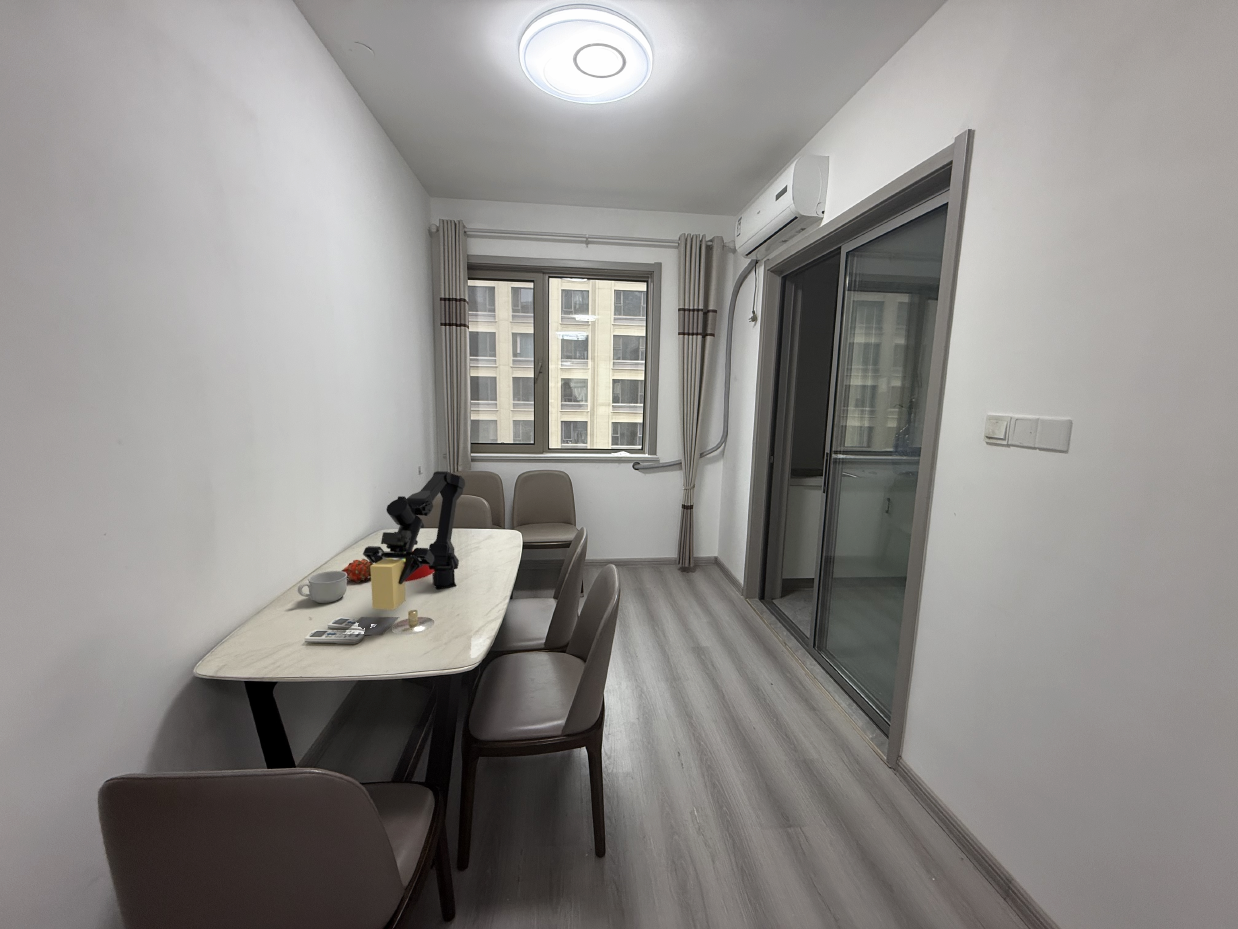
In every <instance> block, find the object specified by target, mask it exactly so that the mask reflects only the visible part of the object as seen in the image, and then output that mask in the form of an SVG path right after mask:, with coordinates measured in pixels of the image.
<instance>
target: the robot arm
mask: <svg viewBox="0 0 1238 929" xmlns="http://www.w3.org/2000/svg"><path fill="white" fill-rule="evenodd" d="M465 486H466V481H465V478H463V476H462V475H458V474H455V473H451V472H450V471H445V470H444V471H443V470H437V471H434V472H433V474H432V476H431V478H430V479H429V480H428V481H427V482H426V483H425V485H424V486H423V487H422V488H421V489H420V490H419V491H418V492H415V493H412V494H411V495H409V496H408V497H407V498H406V496H402V495H400V496H398V497H397V499H394V500H393V501H391V502H390V503H389V504H387V506H386V513H387V515H388V516H390V518H391V519H392V521H393V522H394V523H395V524H396V525H397V526H399V527H398V529H397V531H393V532H386V531H385V532H382V537H381V541H380V544H381V545H386V549H388V550H387V551H386V550H384V549H383V548H382V547H381V546H379V545H377V546H375V545H374V546H373V545H368V546H366V547H365V548H364V549H363V553H362V555H363V556H364V558H365V559H366V560H368V562H369V561H370V562H372V563H373V564H375V563H377V562H379V561H380V560H382V559H387V558H398V559H405V566H404V568H403V571H402V573H401V576H400V579H399V584H402V583H403V582H404V581H405V580H406V579H407V578H408V577H409V576H410V575H411V574H412V573H413V572H415V571H416V570H417V569H418V568H420V567H423V565H428V566H429V570H431V569H433V570H434V572H433V573H432V574H431V575H432V585H433V587H435V589H436V590H440V589H447V588H452V587H456V586H457V583H456V581H455V580H456V579H455V577H456V576H455V570H457V569H458V568H459V564H460V563H459V562H460V561H459V559H458V557H457V556H456V553H455V547H454V545H453V543H452V536H453V528H454V521H455V513H456V508H457V501H458V500H459V499H460V497H461V496H462V495H463V492H464V488H465ZM439 494H440V496H441V498H442V500H441V504H440V505H441V506H440V513H439V519H438V520H439V521H438V526H437V533H436V539H435V541H434V542H432V543H429V546H428V547H415V546H417V545H418V543H419V542H418V540H417V538H418V537H419V536H418V535H419V533H420V530H421V529H424V528H425V524H424V522H423V519H422V518H421V517H428V516H429V515H430V514H431V512H432V510H433V508H434V503H433V502H434V500H435V499H436V497H437V496H438V495H439ZM413 550H414V551H413ZM412 551H413V552H412ZM422 564H423V565H422Z"/></svg>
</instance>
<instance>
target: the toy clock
mask: <svg viewBox="0 0 1238 929" xmlns="http://www.w3.org/2000/svg"><path fill="white" fill-rule="evenodd" d="M413 551H414V549H413V550H412V552H413ZM387 559H397V560H404V566H405V559H398V558H387ZM422 565H423V564H422ZM432 573H434V570H433V569H431V570H429V566H428V565H423V567H420V568H418V569H417V570H416V571H415V572H413V573H412V574H411V575H410V576H409V577H408V578H407V579H406V580H405V582H412V581H417V580H420V579H424V578H427V577H428V576H430V575H432Z"/></svg>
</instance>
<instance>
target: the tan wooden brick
mask: <svg viewBox="0 0 1238 929" xmlns="http://www.w3.org/2000/svg"><path fill="white" fill-rule="evenodd" d="M403 568H404V560H397V559H382V560H380V561H379V562H377V563H373V565H371V566H370V569H371V577H370V581H371V582H370V585H371V597H372V598H371V600H372V609H374V610H393V611H394V610H395V609H397V608H398V607H400V606H401V605H402V604H403V603H405V602H406V585H405V584H406V583H405V581H404V582H403V583H402V584H399V579H400V576H401V573H402V571H403Z"/></svg>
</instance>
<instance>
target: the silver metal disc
mask: <svg viewBox="0 0 1238 929" xmlns="http://www.w3.org/2000/svg"><path fill="white" fill-rule="evenodd" d="M407 616H408V618H406V619H403V620H400V621H397V622H396V623H394V624H393V626H392V627H391V631H392V632H393V633H394V634H397V635H404V636H405V635H408V636H409V635H414V634H420V633H423V632H426V631H428V630H429V629H431V628H432V627H434V625H435V620H434V619H433V618H431V617H428V616H419V614H418V610H417V609H412V610H408V611H407Z"/></svg>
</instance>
